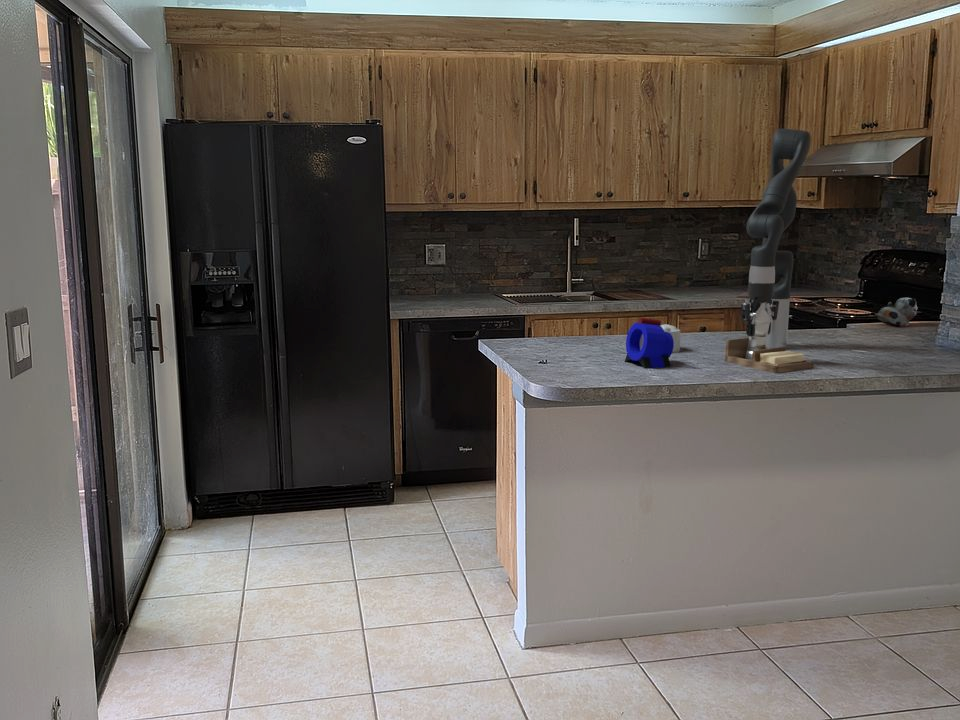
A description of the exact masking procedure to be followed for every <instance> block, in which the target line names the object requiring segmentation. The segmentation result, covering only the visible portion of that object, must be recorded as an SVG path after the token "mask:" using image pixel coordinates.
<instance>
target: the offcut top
mask: <svg viewBox="0 0 960 720" xmlns="http://www.w3.org/2000/svg"><path fill="white" fill-rule="evenodd" d="M760 360H761V361H765V362H768V363H772V364H781V363H790V362H799V361H804V360H805V354H804V353H801V352H796V351H792V350H785V351H781V352H771V353H762V354H760Z"/></svg>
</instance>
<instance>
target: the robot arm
mask: <svg viewBox="0 0 960 720" xmlns="http://www.w3.org/2000/svg"><path fill="white" fill-rule="evenodd" d="M772 136H773V137H772V140H771V148H770V149H771V152H770V155H771V156H770V175H769V182H768V183H767V184H766V187H765V189H764V192H763V195H762V197H761V200H760V202H759V203H758V205H757V206H756V208H755V209H754V210H753V212H752V213H751V214H750V216H749V217H748V219H747V223H746V233H747V234H748V236H749V237H751V238H755V239H762V244H761V245H756V246H754V247H753V248H752V249H751V253H750V255H751V256H750V268H749V273H748V286H747V295H748V297H749V300H748V301H747V302H741V304H740V310H741V311H740V314H741V322H742V323H745V324H746V330H745V331H746V335H747V337H749V336H754V322H755V319H756V318H758V316H759V314H760V311H761V310H762V308H763V304H762V303H760V302H767V303H766V311H767V312H768V314H769V316H770V324H769V329H768V335H767V349H771V348H779V347H786V348H787V343H788V333H789V332H788V330H789V317H790V316H789V315H790V301H791V285H792V278H793V277H792V276H793V269H794V254H793V252H792V251H790V250H777V249H778V246H779V242H780V240H781V237H782V234H783V233H784V232H785V231H786V229H787V228H788V227H789V226H790V225H791V224H792V223H793V221H794V219H795V217H796V211H797V210H796V209H797V203H798V197H797V193H796V190H795V188H794V186H793V184H794V182H795V181H796V180H797V179H796V178H797V176H798V175H799V173H800V171H801V169H802V167H803V165H804V162H805V161H806V159H807V157H808V154H809V152H810V148H811V142H812V141H811V140H812V139H811V137H812V136H811V133H810V132H809V131H807V130H803V129H792V128H778V129H776V130H775V131H774V134H773V135H772ZM784 160H788V161H790V162H789V164H788V165H787V166H786V167H785V165H784ZM777 278H778V279H779V278H780V281H779V282H777V283H776V282H775V281H776V279H777ZM752 312H753V313H755V314H751V313H752ZM751 316H752V319H751V320H750V317H751Z"/></svg>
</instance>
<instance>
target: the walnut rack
mask: <svg viewBox="0 0 960 720" xmlns="http://www.w3.org/2000/svg"><path fill="white" fill-rule="evenodd" d="M748 343H749V336H747V337H742V338H741V337H739V338H731V339H726V340H725V354H724V355H725V357H724V362H726V363H730V364H733V365H739V366H742V367H743V366H744V367H747V368H751V369H756V370H760V371H763V372H768V373H773V374H779V373H786V372H793V371H799V370H807V369H813V368H814V361H810V360H806V359H804V361H802V362H801V363H795V364H788V365H780V366H774V365H770V364H765V363H761V362H760V361H761V360H760V354H762V353H771V352H781V351H787V350H786V349H787V346H786V347H779V348H771V349H762V350H754V351H753V352H752V360H748V359H746V353H747V350H748Z"/></svg>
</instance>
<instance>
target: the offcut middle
mask: <svg viewBox="0 0 960 720" xmlns="http://www.w3.org/2000/svg"><path fill="white" fill-rule="evenodd" d="M760 362H761V363H765V364H770V365H774V366H780V365H788V364H795V363H801V362H802V361H799V362H790V363H781V364H772V363H768V362H765V361H760Z"/></svg>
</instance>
